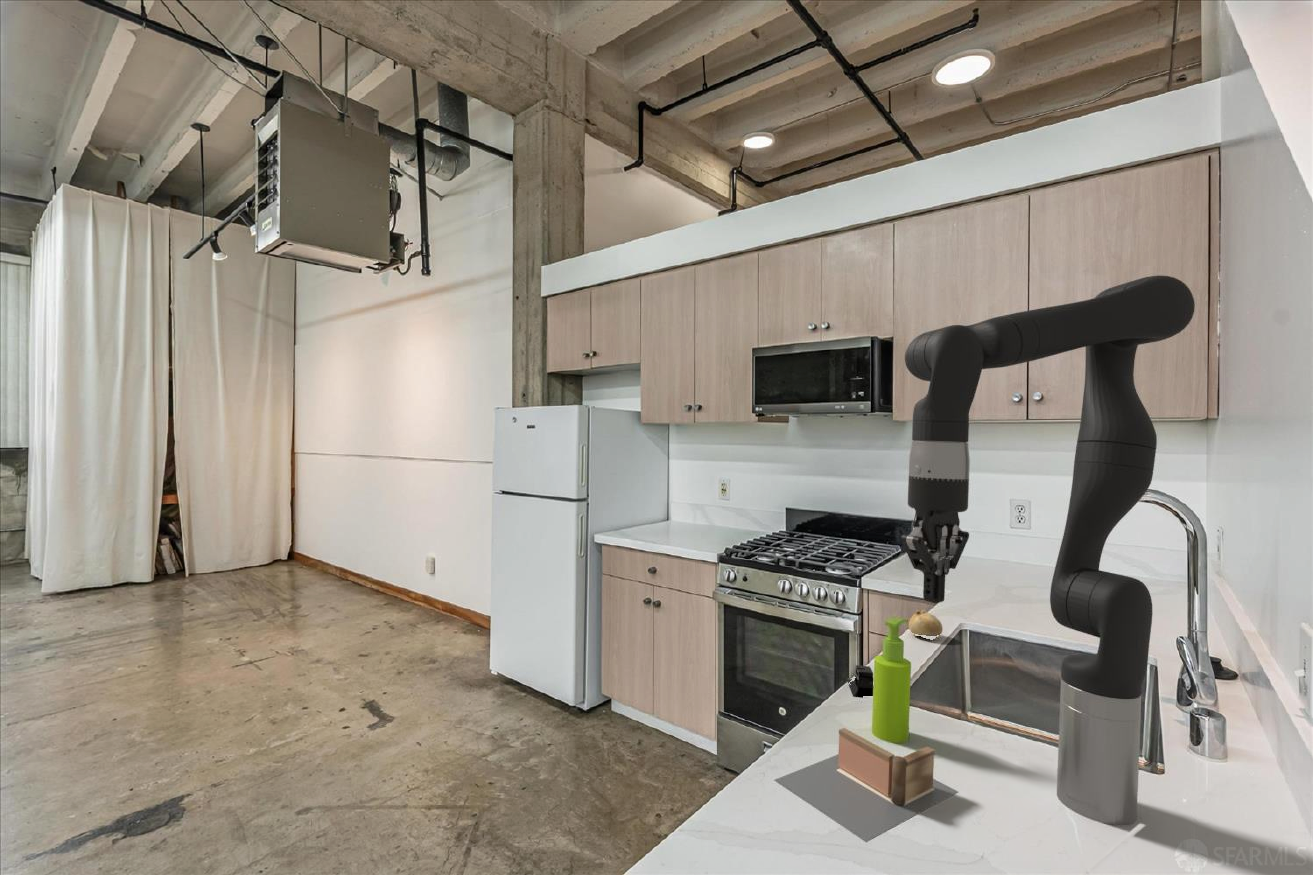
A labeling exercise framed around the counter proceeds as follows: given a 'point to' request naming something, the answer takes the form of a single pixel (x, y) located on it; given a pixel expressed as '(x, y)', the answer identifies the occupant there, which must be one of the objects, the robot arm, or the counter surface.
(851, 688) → the black block
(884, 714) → the soap dispenser
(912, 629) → the onion
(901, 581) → the counter surface
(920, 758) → the fixed fence section
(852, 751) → the hinged fence section
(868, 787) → the card
